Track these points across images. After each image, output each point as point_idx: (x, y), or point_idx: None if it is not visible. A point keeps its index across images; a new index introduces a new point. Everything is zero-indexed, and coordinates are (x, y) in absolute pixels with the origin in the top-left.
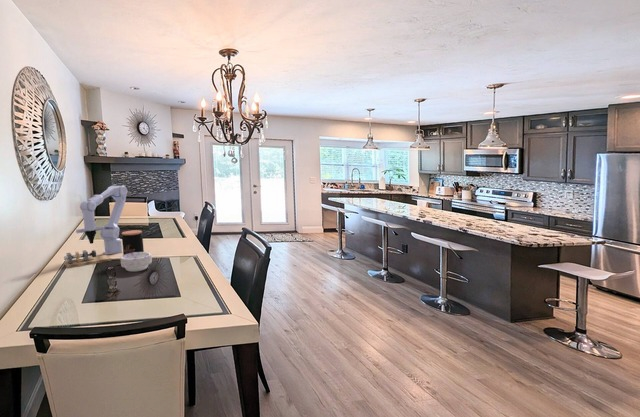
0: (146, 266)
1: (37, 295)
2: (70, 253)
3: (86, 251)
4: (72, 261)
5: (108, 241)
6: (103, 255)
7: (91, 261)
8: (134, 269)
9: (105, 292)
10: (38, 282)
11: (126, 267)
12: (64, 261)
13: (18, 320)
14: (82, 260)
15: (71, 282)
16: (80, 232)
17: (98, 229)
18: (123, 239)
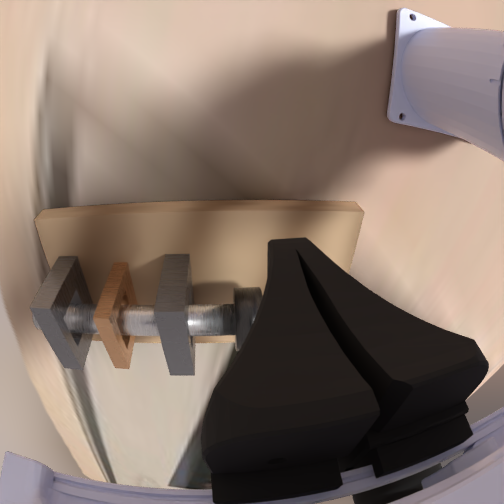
0: None
1: (88, 454)
2: (66, 341)
3: (187, 356)
4: (90, 267)
5: (500, 153)
6: (336, 225)
7: (210, 342)
8: None
9: (203, 481)
10: (47, 408)
11: None
12: (37, 228)
13: (101, 480)
14: (157, 285)
15: (137, 445)
16: (101, 491)
17: (498, 434)
18: (353, 498)
